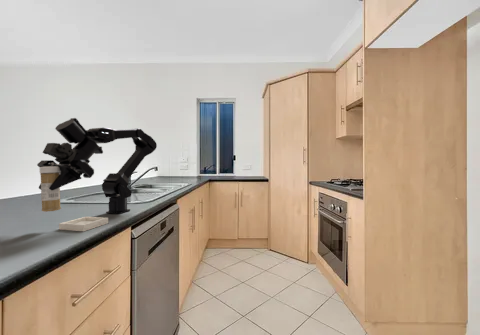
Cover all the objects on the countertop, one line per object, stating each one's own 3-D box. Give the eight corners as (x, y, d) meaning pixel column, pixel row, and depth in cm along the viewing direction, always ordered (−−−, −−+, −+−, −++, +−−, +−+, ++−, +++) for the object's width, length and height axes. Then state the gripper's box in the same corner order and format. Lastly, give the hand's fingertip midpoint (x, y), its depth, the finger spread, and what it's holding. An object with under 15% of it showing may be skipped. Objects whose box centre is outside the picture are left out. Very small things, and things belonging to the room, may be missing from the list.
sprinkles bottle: (60, 208, 70) (58, 166, 70) (61, 210, 67) (59, 166, 66) (41, 210, 67) (39, 166, 67) (41, 212, 64) (39, 166, 63)
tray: (85, 221, 75) (85, 216, 75) (108, 223, 73) (108, 217, 73) (59, 229, 66) (59, 223, 66) (83, 231, 64) (83, 225, 64)
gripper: (43, 136, 73) (-1, 170, 63) (84, 133, 67) (43, 171, 57) (68, 160, 81) (33, 194, 70) (107, 159, 75) (75, 196, 65)
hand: (45, 189), depth 65 cm, fingers closed on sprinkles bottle, 4 cm apart
